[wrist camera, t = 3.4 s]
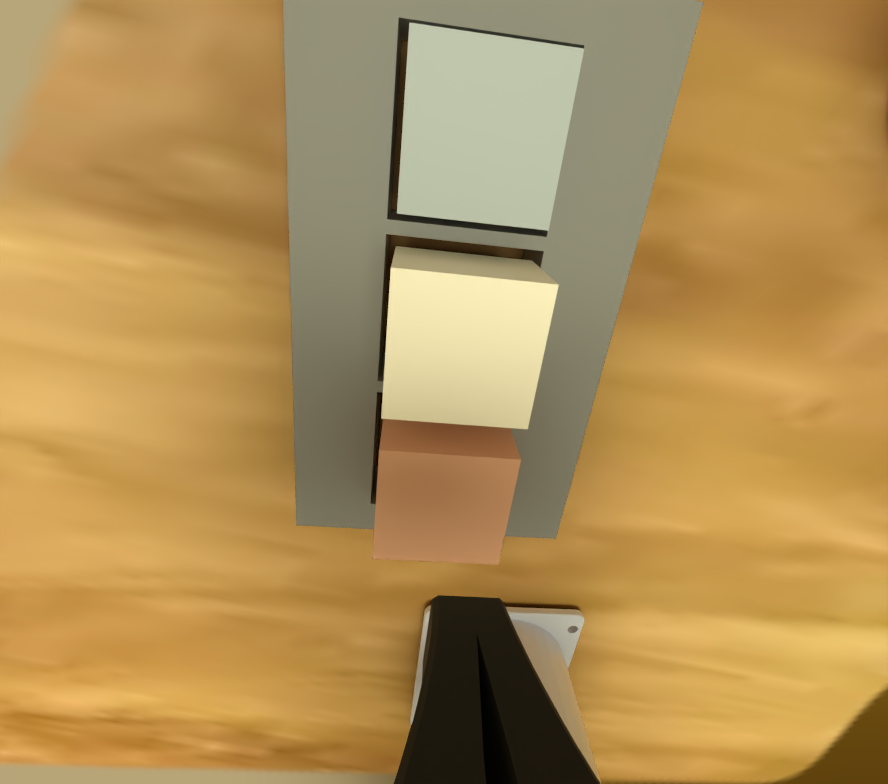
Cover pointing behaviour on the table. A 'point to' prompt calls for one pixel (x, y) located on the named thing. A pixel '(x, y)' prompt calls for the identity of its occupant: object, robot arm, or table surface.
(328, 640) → the table surface
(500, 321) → the key ivory
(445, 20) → the keypad base
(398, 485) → the key terracotta
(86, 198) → the table surface
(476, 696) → the robot arm
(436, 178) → the key slate
